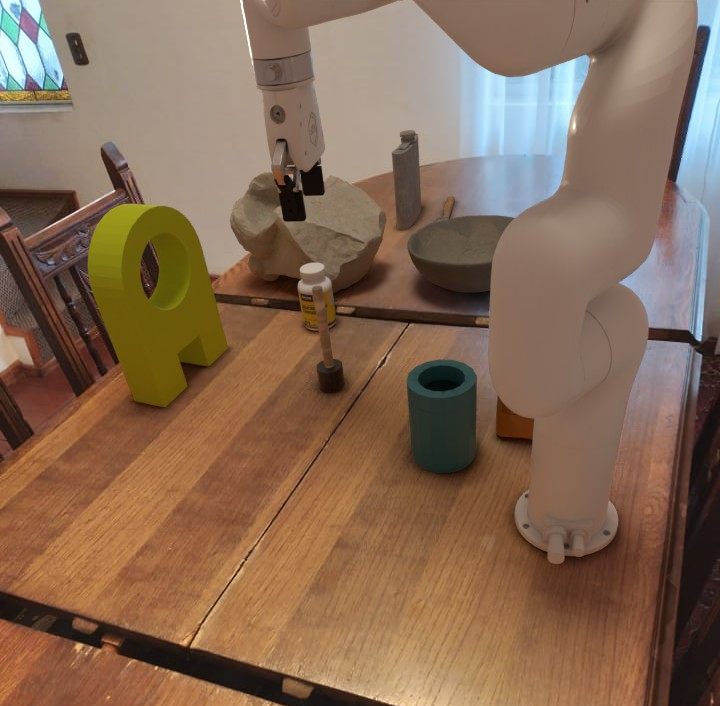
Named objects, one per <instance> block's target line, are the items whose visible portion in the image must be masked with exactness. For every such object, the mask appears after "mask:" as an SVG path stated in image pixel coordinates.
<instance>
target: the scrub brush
mask: <svg viewBox="0 0 720 706" xmlns="http://www.w3.org/2000/svg"><path fill="white" fill-rule="evenodd" d="M312 292H313V298H314V304H315V311H316V317H317V323H318V329H319V331H318V335H319V339H320V340H319V341H320V346H321V347H320V348H321V353H322V358H323V360H321V361H319V362H318V363H317V364H316V366H315V367H316V368H315V369H316V374H317V379H318V385H319V389H320V391H322V392H324V393H327V394H333V393H337V392H341V391H342V390H343V389H344V388H345V386H346V379H345V373H344V367H343V361H341V360H340V359H338V358H334V355H333V350H332V349H333V348H332V343H331V342H332V341H331V335H330V328H328V322H327V315H326V309H325V302H324V296H323V289H322V286H314V287H313V288H312Z"/></svg>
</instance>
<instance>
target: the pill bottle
mask: <svg viewBox="0 0 720 706" xmlns="http://www.w3.org/2000/svg"><path fill="white" fill-rule="evenodd" d="M324 275H325V267H324V265H323V264H321V263H308V264H305V265H303V266H302V267H301V268H300V276H301V278H302V279H301V280H300V279H299V281H298V283H297V293H298V297H299V298H298V300H299V305H300V311H301V316H302V321H303V326H304V327H306V329H308V330H310V331H318V332H319V329H318V323H317V317H316V311H315V304H314V298H313V292H312V288H313V287H314V286H322V289H323V296H324V302H325V309H326V315H327V322H328V328H329V329H330V328H332V327H333V326H334V325H335V324H336V322H337V315H336V313H337V312H336V307H335V298H334V293H333V290H332V283H331V281H330V279H329V278H328V277H326V276H324Z"/></svg>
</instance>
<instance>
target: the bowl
mask: <svg viewBox="0 0 720 706" xmlns="http://www.w3.org/2000/svg"><path fill="white" fill-rule="evenodd" d="M514 218H515V217H513V216H506V215H498V214H497V215H496V214H495V215H493V214H491V215H488V214H487V215H485V214H484V215H462V216H457V217H453V218H452V217H451V218H449V219H447V220H442V221H438V222H437V221H434V222H430V223H428V224H426V225H424V226H422V227H421V228H419V229H417V230H416V231H415V232H413V233H412V234H411V236H410V237H409V238H408V241H407V243H406V245H407V247H406V248H407V252H408V254H409V257H410V260H411V262H412V264H413V266H414V267H415V268H416V270H417V271H418V272H419V273H420V274H421V275H422V276H423V277H424V279H426V280H428V281H429V282H431V283H432V284H434V285H436V286H437V287H440V288H444V289H447V290H448V291H449V290H450V291H453V292H457V293H469V294H471V293H477V294H478V293H484V292H490V287H491V271H492V262H493V257H494V253H495V250H496V247H497V244H498V242H499V239H500V237H501V235H502V234H503V232H504V230H505V229H506V227H507V226H508V225H509V224H510V223H511V221H512V220H513V219H514Z"/></svg>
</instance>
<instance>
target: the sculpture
mask: <svg viewBox="0 0 720 706" xmlns="http://www.w3.org/2000/svg"><path fill="white" fill-rule="evenodd" d="M286 175H289V174H286ZM289 177H290V178H291V180H292V181H293V177H291V176H289ZM274 178H275V177H274V175H273V172H270V171H264V172H262V173H260V174H258V175H257V176H255V177H253V178H252V179H251V181H250V182H249V184H248V188H247V190H246V191H245V193H244V195H243V196H242V197H241V198H239V199H238V200H236V201H235V202H234V204H233V206H232V209H231V213H230V217H229V224H230V229H231V230H232V232H233V234H234V236H235V238H236V240H237V242H238V243H239V245H240V246H242V248H243V250H244V251H246V252H248V253H250V254H251V255H250V256H249V257H248V260H247V261H248V262H247V266H248V268H249V270H250V271H249V272H251V273H252V274H253V275H256V276H258V277H260V278H262V279H263V280H264V281H266V282H273V281H277V280H278V278H279V277H280V276H286V277H289V278H293V279H297V280H299V281H300V280H301V279H302V278H301V276H300V268H301V267H302V266H303V265H305V264H308V263H321V264H323V265H324V267H325V275H324V276H326V277H328V278H329V279H330V281H331V283H332V290H333V294H335V293H337V292H339V291H340V290H346V289H347V288H350V287H352V286H353V285H355V284H357V283H358V282H360V281H361V280H362V279H363V278H364V277H365V276H366V275H367V273H368V272H369V270H370V268H371V266H372V264H373V261H374V260H375V259H376V256H377V253H378V251H379V249H380V247H381V244H382V243H383V240H384V233H385V229H386V224H387V215H386V211H385V210H384V208H383V207H381V206H379V205H378V204H377V202H376V201H375V200H374V198H373V197H372V196H370V195H369V194H367V192H366V191H365V190H363V189H362V188H360V187H358V186H356V185H353V184H351V183H350V182H348V181H347V180H345V179H342V178H340V177H339V176H334V175H330V176H328V177H327V178H326V179H325V181H324V188H325V193H324V195H322V196H305V195H304V194H303V198H304V205H305V211H306V220H305V221H300V222H285V221H284V220H283V216H282V210H281V204H280V199H279V193H278V192H277V185H276V183H275V181H274ZM299 190H302V192H303V189H302V182H301V176H300V184H299Z"/></svg>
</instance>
